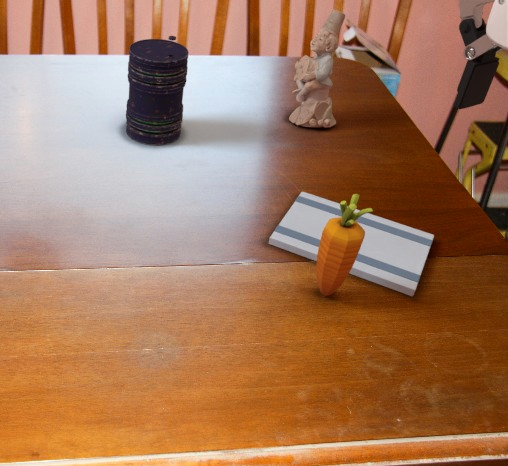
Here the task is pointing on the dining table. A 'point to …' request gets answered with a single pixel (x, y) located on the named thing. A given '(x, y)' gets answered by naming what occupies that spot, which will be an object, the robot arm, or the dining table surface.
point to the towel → (372, 249)
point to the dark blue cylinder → (156, 90)
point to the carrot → (339, 247)
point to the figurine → (317, 77)
